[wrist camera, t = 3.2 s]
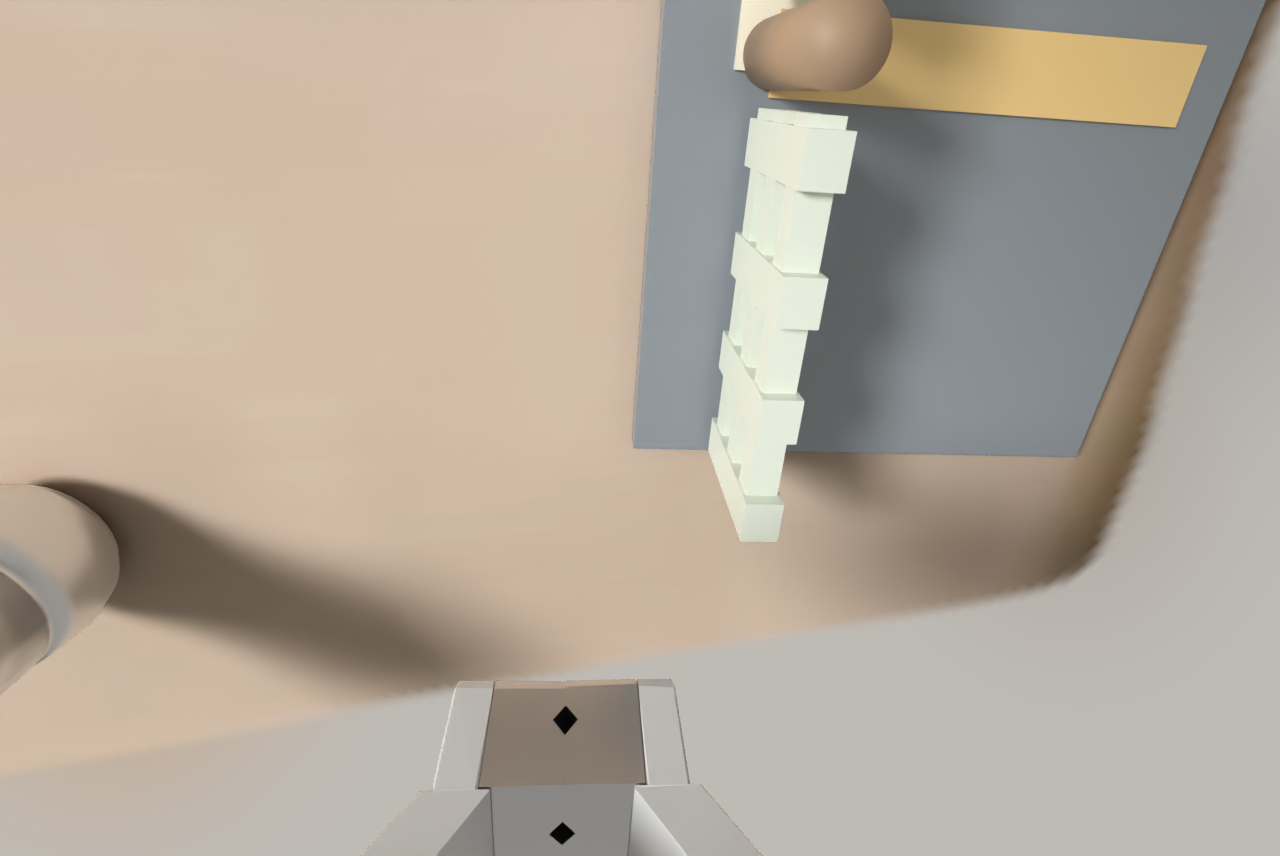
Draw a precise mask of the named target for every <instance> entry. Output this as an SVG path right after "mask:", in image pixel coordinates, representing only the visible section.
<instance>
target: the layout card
mask: <svg viewBox="0 0 1280 856" xmlns="http://www.w3.org/2000/svg"><path fill="white" fill-rule="evenodd" d="M811 1H814V0H661V14H660V29H659V44H658V59H657V74H656V89H655V104H654V118H653V133H652V148H651V163H650V178H649V193H648V208H647V222H646V237H645V252H644V267H643V282H642V297H641V312H640V327H639V341H638V356H637V371H636V386H635V401H634V416H633V431H632V440H633V447H634V448H636V449H687V450H708V447H709V439H710V431H711V423H712V418H718V413H719V405H720V397H721V390H722V382H723V375H722V373H721V371H720V369H719V360H720V352H721V344H722V336H723V331H729V329H730V321H731V314H732V306H733V298H734V291H735V283H736V279H735V278H734V277H733V275H732V274H731V266H732V258H733V250H734V242H735V234H736V232H742V230H743V222H744V215H745V207H746V200H747V192H748V184H749V177H750V169H751V168H749V167H747V166H744V163H745V155H746V148H747V140H748V132H749V124H750V118H757V116H758V108H768V109H781V110H794V111H800V112H812V113H821V114H829V115H840V116H848V121H847V126H846V130H851V131H857V136H856V141H855V146H854V151H853V156H852V161H851V166H850V172H849V177H848V182H847V187H846V192H845V194H839V193H834V195H833V201H832V206H831V211H830V217H829V222H828V227H827V233H826V238H825V243H824V249H823V254H822V259H821V265H820V270H819V272H821V273H822V274H823V275H824V276H826V277H827V278H828V284H827V290H826V295H825V300H824V305H823V310H822V315H821V320H820V326H819V330H808V334H807V339H806V345H805V350H804V355H803V361H802V366H801V371H800V377H799V382H798V387H797V391H798V392H799V394H800V395H801V397H802V398H803V400H804V401H805V402H804V408H803V413H802V418H801V423H800V428H799V433H798V438H797V444H796V445H788V444H787V446H786V451H788V452H839V453H889V454H940V455H991V456H1041V457H1076V456H1077V454H1078V451H1079V449H1080V446H1081V444H1082V442H1083V439H1084V437H1085V434H1086V432H1087V430H1088V427H1089V425H1090V422H1091V420H1092V418H1093V415H1094V413H1095V410H1096V408H1097V406H1098V403H1099V401H1100V398H1101V396H1102V394H1103V391H1104V389H1105V386H1106V384H1107V382H1108V379H1109V377H1110V374H1111V372H1112V369H1113V367H1114V365H1115V362H1116V360H1117V357H1118V355H1119V353H1120V350H1121V348H1122V345H1123V343H1124V341H1125V338H1126V336H1127V333H1128V331H1129V329H1130V326H1131V324H1132V321H1133V319H1134V317H1135V314H1136V312H1137V309H1138V307H1139V305H1140V302H1141V300H1142V297H1143V295H1144V293H1145V290H1146V288H1147V285H1148V283H1149V280H1150V278H1151V276H1152V273H1153V271H1154V268H1155V266H1156V264H1157V261H1158V259H1159V256H1160V254H1161V252H1162V249H1163V247H1164V244H1165V242H1166V240H1167V237H1168V235H1169V232H1170V230H1171V228H1172V225H1173V223H1174V220H1175V218H1176V216H1177V213H1178V211H1179V208H1180V206H1181V204H1182V201H1183V199H1184V196H1185V194H1186V191H1187V189H1188V187H1189V184H1190V182H1191V179H1192V177H1193V175H1194V172H1195V170H1196V167H1197V165H1198V163H1199V160H1200V158H1201V155H1202V153H1203V151H1204V148H1205V146H1206V143H1207V141H1208V139H1209V136H1210V134H1211V131H1212V129H1213V127H1214V124H1215V122H1216V119H1217V117H1218V114H1219V112H1220V110H1221V107H1222V105H1223V102H1224V100H1225V98H1226V95H1227V93H1228V90H1229V88H1230V86H1231V83H1232V81H1233V78H1234V76H1235V74H1236V71H1237V69H1238V66H1239V64H1240V62H1241V59H1242V57H1243V54H1244V52H1245V50H1246V47H1247V45H1248V42H1249V40H1250V38H1251V35H1252V33H1253V30H1254V28H1255V25H1256V23H1257V21H1258V18H1259V16H1260V13H1261V11H1262V9H1263V6H1264V4H1265V1H1266V0H882V1H883V2H884V4H885V5H886V7H887V9H888V11H889V14H890V17H891V20H892V27H893V39H892V45H891V49H890V53H889V55H888V58H887V60H886V62H885V64H884V66H883V67H882V69H881V70H880V71H879V73H878V74H877V75H876V76H875V77H874V78H873V79H872V80H871V81H870V82H868V83H867V84H865V85H864V86H862V87H860V88H858V89H855V90H852V91H847V92H825V91H768V90H763V89H760V88H758V87H757V86H755V85H754V84H753V83H752V82H751V81H750V80H749V79H748V77H747V76H746V74H745V68H744V63H743V50H744V45H745V42H746V40H747V37H748V35H749V34H750V32H751V31H752V29H753V28H754V27H755V26H756V25H757V24H758V23H759V22H761V21H763V20H764V19H766V18H769V17H772V16H774V15H777V14H780V13H782V12H785V11H787V10H790V9H793V8H795V7H798V6H801V5H803V4H806V3H809V2H811Z"/></svg>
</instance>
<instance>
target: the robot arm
mask: <svg viewBox="0 0 1280 856" xmlns="http://www.w3.org/2000/svg"><path fill="white" fill-rule="evenodd" d="M360 856H762V855H761V853H760V852H759V851H758V850H757V849H756V848H755V847H754V845H753V844H752V843H751V842H750V841H749V839H748V838H747V837H746V836H745V835H744V834H743V833H742V831H741V830H740V829H739V828H738V827H737V825H736V824H735V823H734V822H733V821H732V820H731V818H729V816H728V815H727V814H726V813H725V811H724V810H723V809H722V808H721V807H720V806H719V805H718V803H717V802H716V801H715V800H714V799H713V797H712V796H711V795H710V794H709V793H708V792H707V790H706V789H705V788H704V787H703V786H702V785H701V784H690V781H689V775H688V769H687V762H686V756H685V749H684V743H683V736H682V729H681V723H680V717H679V710H678V704H677V697H676V691H675V685H674V683H673V681H672V680H671V679H638V680H637V681H636V680H635V679H625V680H624V679H622V680H577V681H567V682H557V681H459V682H458V684H457V686H456V688H455V690H454V693H453V697H452V702H451V706H450V711H449V716H448V720H447V724H446V729H445V733H444V738H443V742H442V746H441V751H440V755H439V760H438V764H437V769H436V773H435V778H434V782H433V787H432V790H429V791H419V793H418V794H417V795H416V796H415V797H414V798H413V799H412V800H411V801H410V802H409V803H408V805H407V806H406V807H405V808H404V809H403V810H402V811H401V812H400V813H399V814H398V815H397V816H396V818H395V819H394V820H393V821H392V822H391V823H390V824H389V825H388V826H387V827H386V828H385V829H384V830H383V831H382V833H381V834H380V835H379V836H378V837H377V838H376V839H375V840H374V841H373V842H372V843H371V844H370V846H369V847H368V848H367V849H366V850H365V851H364V852H363V853H362V854H361V855H360Z"/></svg>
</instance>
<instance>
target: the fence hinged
mask: <svg viewBox="0 0 1280 856" xmlns="http://www.w3.org/2000/svg"><path fill="white" fill-rule="evenodd" d="M847 121H848V116H840V115H829V114H821V113H812V112H800V111H794V110H781V109H768V108H758V116H757V118H750V124H749V132H748V140H747V148H746V155H745V163H744V166H747V167H749V168H751V169H750V177H749V184H748V192H747V200H746V207H745V215H744V222H743V230H742V232H736V234H735V242H734V250H733V258H732V266H731V274H732V275H733V277H734V278H735V279H736V283H735V291H734V298H733V306H732V314H731V321H730V329H729V331H723V336H722V344H721V352H720V360H719V369H720V371H721V373H722V375H723V382H722V390H721V397H720V405H719V413H718V418H712V423H711V431H710V439H709V447H708V450H709V453H710V456H711V459H712V462H713V465H714V468H715V470H716V473H717V476H718V479H719V482H720V485H721V488H722V491H723V493H724V496H725V499H726V502H727V505H728V508H729V511H730V514H731V516H732V519H733V522H734V525H735V528H736V531H737V534H738V537H739V539H740V542H777V541H778V536H779V531H780V526H781V520H782V515H783V510H784V503H783V500H782V498H781V496H780V494H779V492H778V489H779V483H780V478H781V473H782V467H783V462H784V457H785V451H786V446H787V444H788V445H796V444H797V438H798V433H799V428H800V423H801V418H802V413H803V408H804V402H805V401H804V400H803V398H802V397H801V395H800V394H799V392H798V391H797V387H798V382H799V377H800V371H801V366H802V361H803V355H804V350H805V345H806V339H807V334H808V330H819V326H820V320H821V315H822V310H823V305H824V300H825V295H826V290H827V284H828V278H827V277H826V276H824V275H823V274H822V273H821V272H819V270H820V265H821V259H822V254H823V249H824V243H825V238H826V233H827V227H828V222H829V217H830V211H831V206H832V201H833V195H834V193H839V194H845V192H846V187H847V182H848V177H849V172H850V166H851V161H852V156H853V151H854V146H855V141H856V136H857V131H851V130H846V126H847Z"/></svg>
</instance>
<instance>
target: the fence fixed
mask: <svg viewBox="0 0 1280 856" xmlns="http://www.w3.org/2000/svg"><path fill="white" fill-rule="evenodd" d="M892 39H893V27H892V20H891V17H890V14H889V11H888V9H887V7H886V5H885V4H884V2H883V1H882V0H814V1H811V2H809V3H806V4H803V5H801V6H798V7H795V8H793V9H790V10H787V11H785V12H782V13H780V14H777V15H774V16H772V17H769V18H766V19H764V20H763V21H761V22H759V23H758V24H757V25H756V26H755V27H754V28H753V29H752V31H751V32H750V34H749V35H748V37H747V40H746V42H745V45H744V50H743V63H744V68H745V74H746V76H747V77H748V79H749V80H750V81H751V82H752V83H753V84H754V85H755V86H757V87H758V88H760V89H763V90H768V91H825V92H847V91H852V90H855V89H858V88H860V87H862V86H864V85H865V84H867V83H868V82H870V81H871V80H872V79H873V78H874V77H875V76H876V75H877V74H878V73H879V71H880V70H881V69H882V67H883V66H884V64H885V62H886V60H887V58H888V55H889V53H890V49H891V45H892Z"/></svg>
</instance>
